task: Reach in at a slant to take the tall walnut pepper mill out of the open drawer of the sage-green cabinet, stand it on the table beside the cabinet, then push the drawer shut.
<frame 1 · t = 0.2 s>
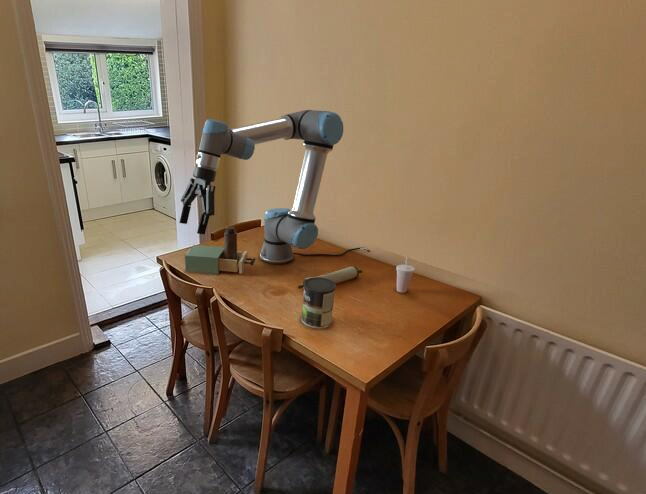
hand: (191, 228, 143), 28 cm above the table, tool tilted 20°, fingers open, 13 cm apart
cabinet: (206, 267, 181), on the table
drawer: (234, 261, 177), point 4 cm above the table, slide at 9.0 cm, touching pepper mill
coffee can: (316, 321, 140), on the table
saucepan: (284, 236, 216), on the table
pepper mill: (231, 264, 178), point 2 cm above the table, touching drawer
rolling pin: (330, 284, 165), on the table
smoothie: (401, 290, 159), on the table
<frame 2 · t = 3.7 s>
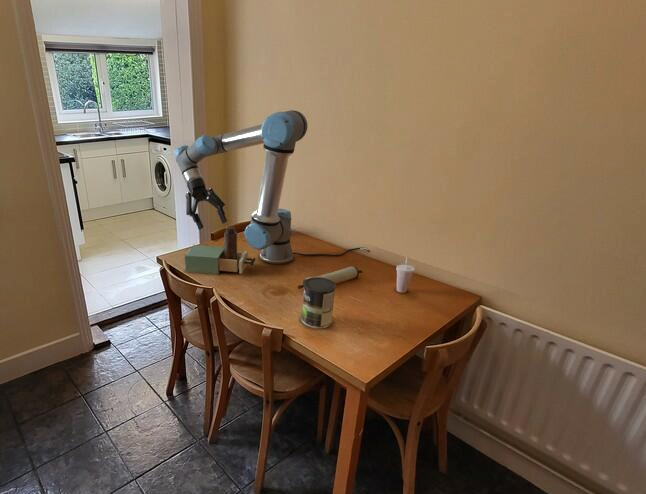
hand: (213, 225, 177), 18 cm above the table, tool tilted 35°, fingers open, 13 cm apart
nothing on the table moved.
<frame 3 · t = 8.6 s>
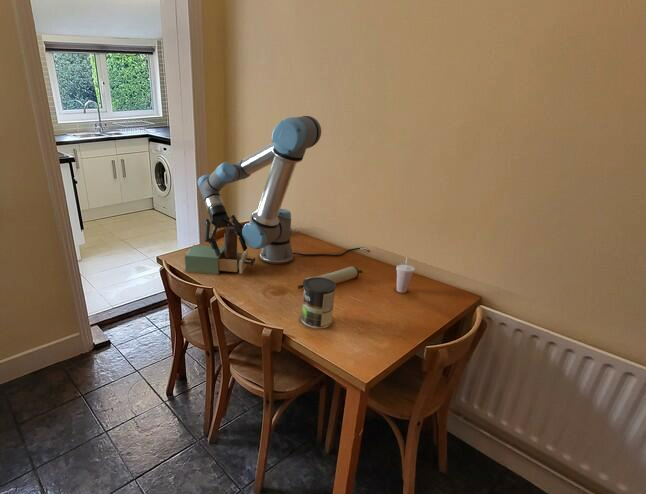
hand: (232, 252, 173), 9 cm above the table, tool tilted 45°, fingers open, 12 cm apart
nothing on the table moved.
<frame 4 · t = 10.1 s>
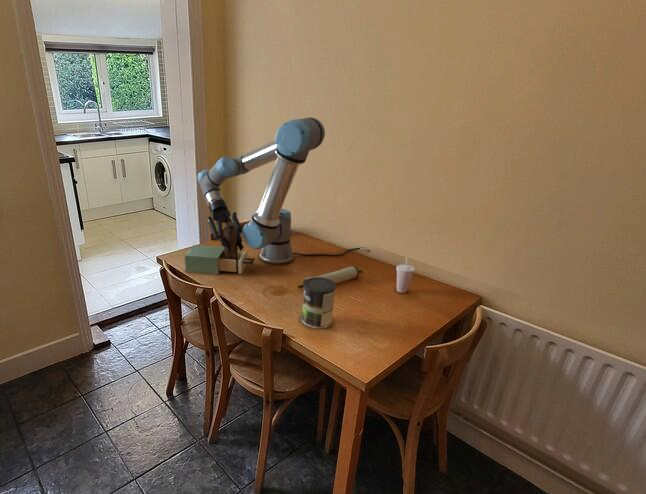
hand: (235, 250, 171), 10 cm above the table, tool tilted 45°, fingers closed on pepper mill, 5 cm apart
drawer: (233, 261, 177), point 4 cm above the table, slide at 8.7 cm
pepper mill: (231, 261, 177), point 4 cm above the table, touching gripper
everything else where it was.
when the fingers open (6 cm above the table, at t = 17.3 s): pepper mill stays where it is, on the table.
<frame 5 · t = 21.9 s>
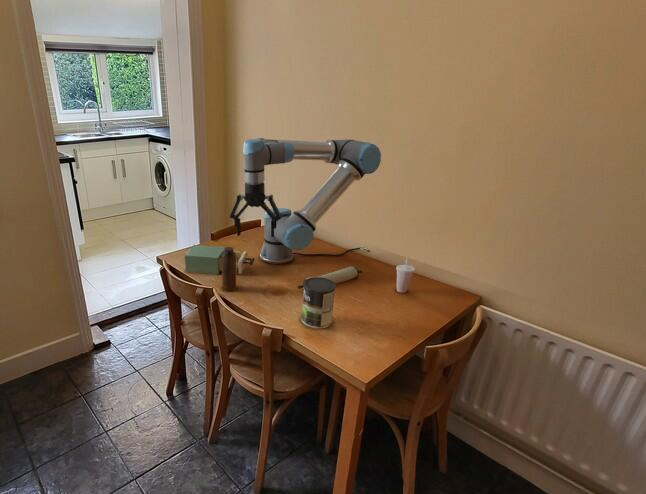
hand: (255, 235, 164), 18 cm above the table, tool pointing down, fingers open, 13 cm apart
pepper mill: (229, 288, 162), on the table
everything else where it was.
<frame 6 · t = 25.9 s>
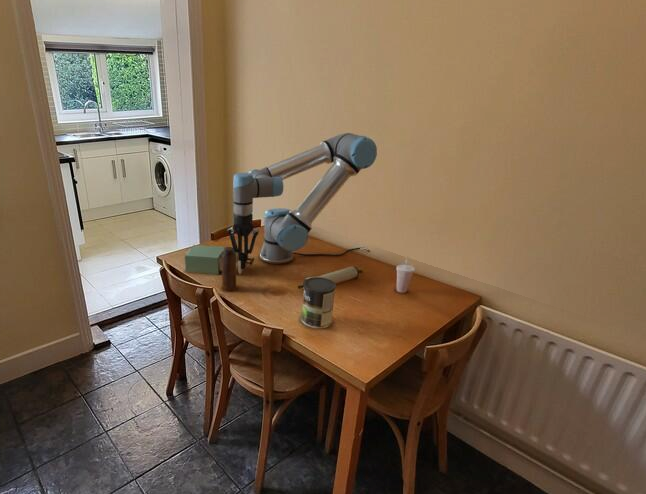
hand: (243, 267, 171), 3 cm above the table, tool pointing down, fingers closed
drawer: (233, 261, 177), point 4 cm above the table, slide at 8.6 cm, touching gripper
everything else where it was.
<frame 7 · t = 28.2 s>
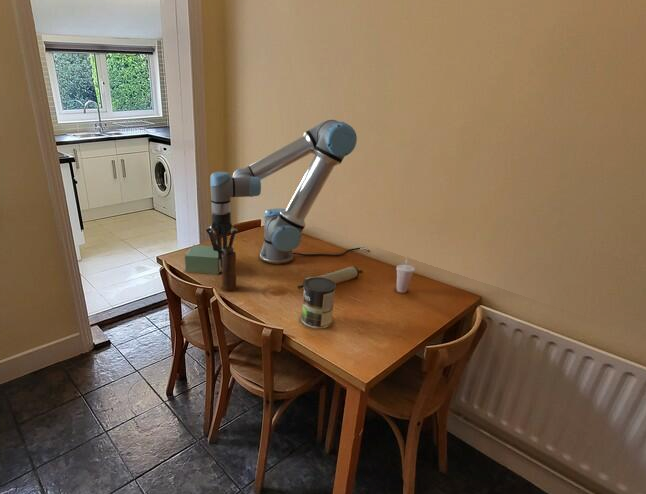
hand: (223, 266, 173), 4 cm above the table, tool pointing down, fingers closed
drawer: (214, 259, 178), point 4 cm above the table, slide at 0.0 cm
everything else where it was.
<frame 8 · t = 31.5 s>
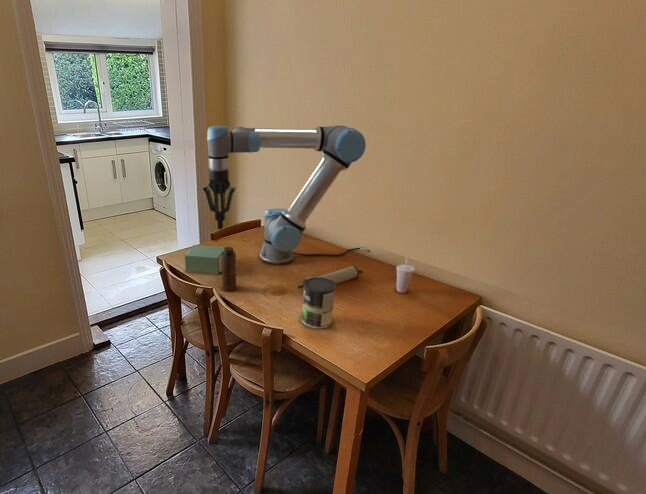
hand: (220, 227, 166), 20 cm above the table, tool pointing down, fingers closed
nothing on the table moved.
at the end: pepper mill inside the target area (0.1 cm from its centre), on the table; pepper mill tilted 0°; drawer slide at 0.0 cm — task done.
